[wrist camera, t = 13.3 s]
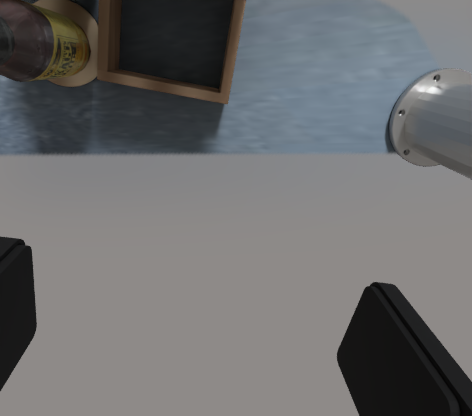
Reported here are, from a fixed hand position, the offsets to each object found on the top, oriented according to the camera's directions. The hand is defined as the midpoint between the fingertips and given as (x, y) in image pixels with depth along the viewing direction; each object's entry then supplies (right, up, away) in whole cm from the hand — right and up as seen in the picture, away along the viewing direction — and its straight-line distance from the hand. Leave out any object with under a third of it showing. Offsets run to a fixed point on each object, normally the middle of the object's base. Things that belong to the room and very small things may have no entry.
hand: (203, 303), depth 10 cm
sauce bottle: (-18, +21, +28) cm, 40 cm away
